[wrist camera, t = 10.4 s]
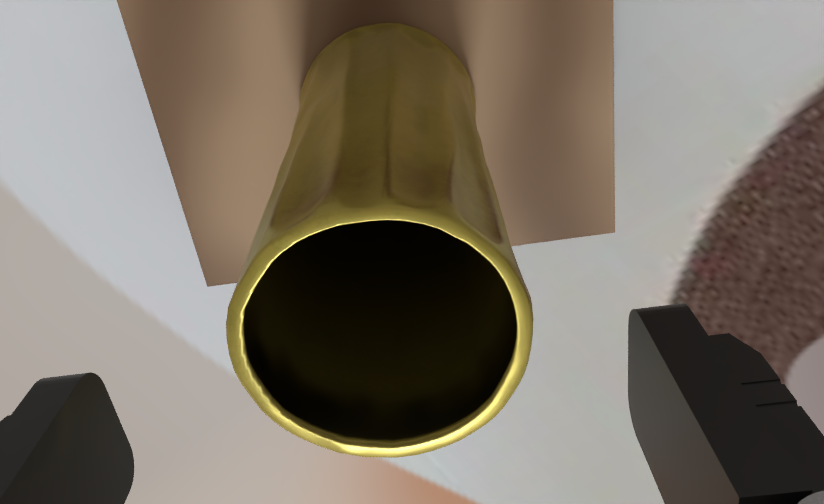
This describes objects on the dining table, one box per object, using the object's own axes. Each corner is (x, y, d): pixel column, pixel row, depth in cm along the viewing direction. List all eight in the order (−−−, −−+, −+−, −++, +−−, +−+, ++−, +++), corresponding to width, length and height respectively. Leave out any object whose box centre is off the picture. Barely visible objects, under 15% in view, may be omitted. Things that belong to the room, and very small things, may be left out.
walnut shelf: (575, -117, 26) (611, -119, 21) (583, 183, 31) (614, 232, 27) (153, -51, 27) (104, -39, 22) (233, 231, 32) (207, 286, 28)
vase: (267, 69, 24) (123, 271, 11) (432, -11, 23) (481, 109, 10) (350, 217, 26) (309, 519, 14) (501, 151, 25) (610, 411, 13)
